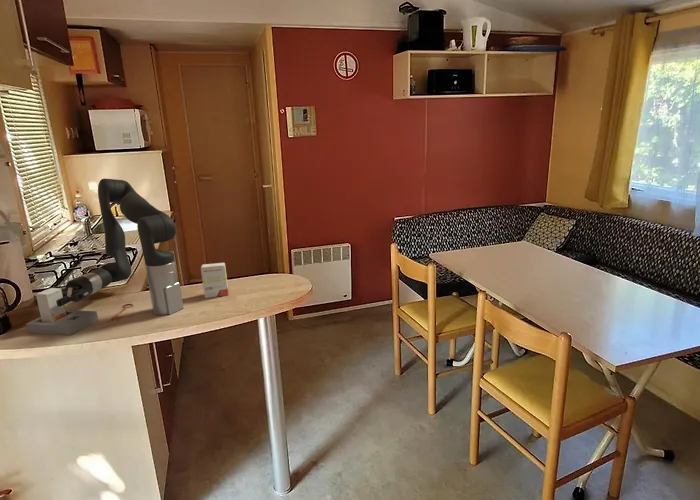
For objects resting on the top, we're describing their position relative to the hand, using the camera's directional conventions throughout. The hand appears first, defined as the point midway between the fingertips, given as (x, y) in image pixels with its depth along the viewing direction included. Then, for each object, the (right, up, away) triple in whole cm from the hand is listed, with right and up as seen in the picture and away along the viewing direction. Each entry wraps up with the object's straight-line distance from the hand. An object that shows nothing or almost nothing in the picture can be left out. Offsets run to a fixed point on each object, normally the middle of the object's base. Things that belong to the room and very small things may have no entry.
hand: (46, 303), depth 148 cm
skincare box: (+1, -8, +4) cm, 9 cm away
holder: (+4, -8, +3) cm, 9 cm away
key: (+19, -5, +12) cm, 23 cm away
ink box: (+47, 0, +25) cm, 54 cm away
